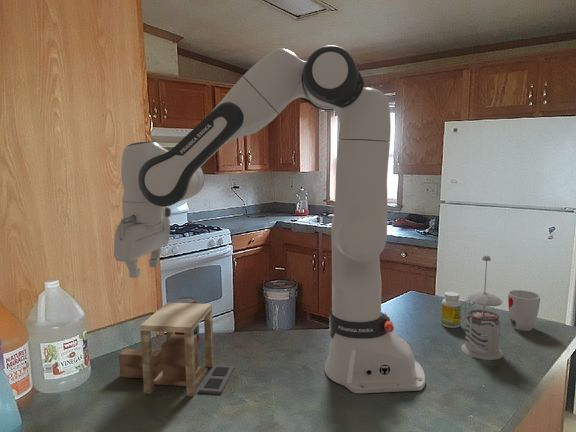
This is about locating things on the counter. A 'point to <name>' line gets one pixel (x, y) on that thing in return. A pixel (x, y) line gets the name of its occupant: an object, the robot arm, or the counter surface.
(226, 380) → the pit board
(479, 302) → the french press
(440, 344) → the counter surface
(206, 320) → the small wooden table
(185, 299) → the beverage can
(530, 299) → the cup
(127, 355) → the wooden step block
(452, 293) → the supplement bottle
